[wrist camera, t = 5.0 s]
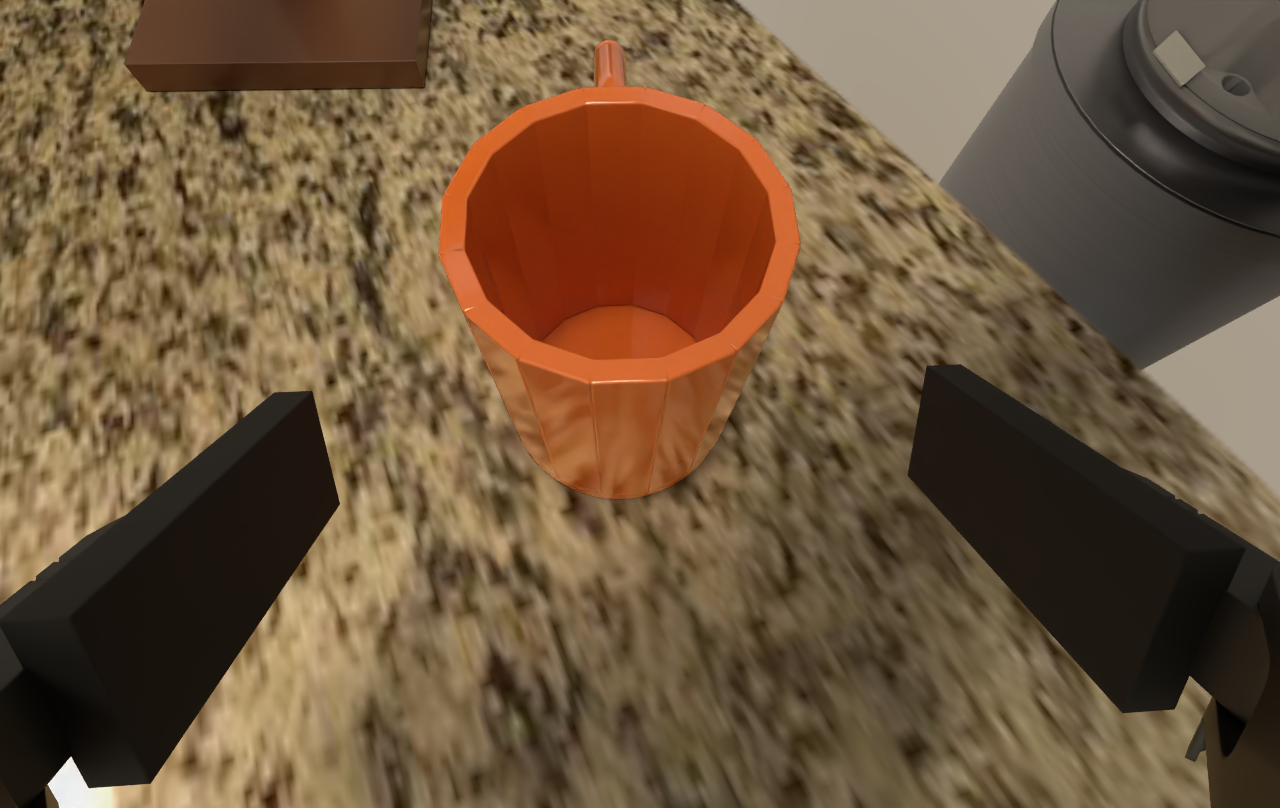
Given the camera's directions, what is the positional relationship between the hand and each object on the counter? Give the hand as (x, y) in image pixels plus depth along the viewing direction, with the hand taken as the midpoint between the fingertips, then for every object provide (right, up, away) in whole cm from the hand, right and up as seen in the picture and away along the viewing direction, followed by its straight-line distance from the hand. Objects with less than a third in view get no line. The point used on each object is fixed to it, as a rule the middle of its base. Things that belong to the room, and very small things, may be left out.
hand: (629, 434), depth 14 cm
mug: (-1, +3, +12) cm, 12 cm away
